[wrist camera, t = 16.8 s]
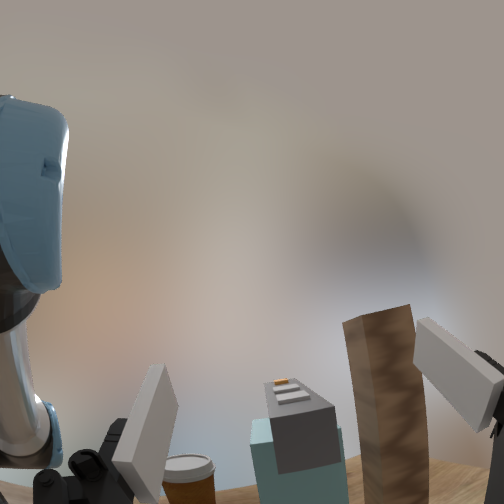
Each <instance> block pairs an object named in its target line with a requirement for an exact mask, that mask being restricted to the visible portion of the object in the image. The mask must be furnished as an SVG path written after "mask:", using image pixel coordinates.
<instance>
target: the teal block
mask: <svg viewBox="0 0 504 504" xmlns="http://www.w3.org/2000/svg"><path fill="white" fill-rule="evenodd" d="M337 428H338V436H339V444H340V453H341V462H339V463H335V464H331V465H327V466H322V467H318V468H313V469H308V470H303V471H298V472H292V473H286V474H280V475H278V469H277V463H276V457H275V451H274V444H273V438H272V432H271V425H270V419H269V418H265V419H257V420H253V421H252V431H251V440H250V447H251V453H252V458H253V465H254V470H255V476H256V481H257V487H258V492H259V498H260V503H261V504H349V498H348V487H347V476H346V466H345V457H344V448H343V440H342V432H341V427H339V426H338V425H337Z"/></svg>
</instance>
